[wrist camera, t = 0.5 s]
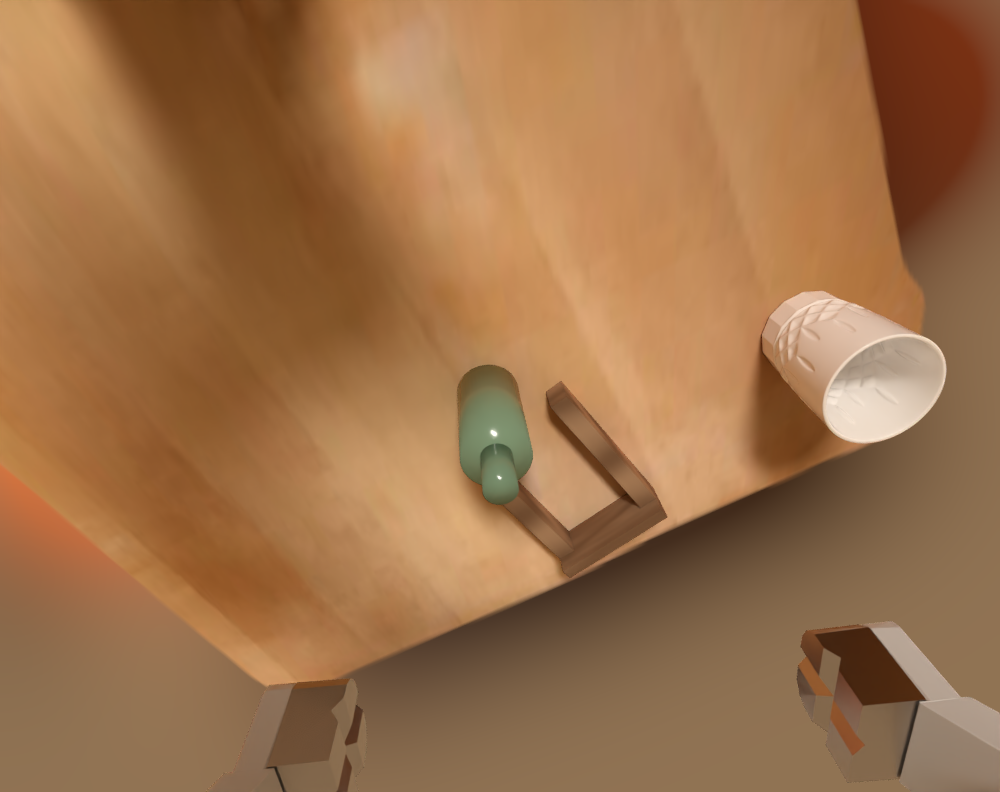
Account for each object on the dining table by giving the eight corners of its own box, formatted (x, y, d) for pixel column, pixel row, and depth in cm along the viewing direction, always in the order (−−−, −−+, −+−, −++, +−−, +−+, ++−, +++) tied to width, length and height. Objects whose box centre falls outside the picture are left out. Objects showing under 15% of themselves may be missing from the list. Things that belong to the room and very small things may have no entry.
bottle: (444, 389, 47) (444, 488, 36) (492, 353, 46) (507, 443, 35) (483, 429, 49) (494, 533, 38) (530, 394, 48) (555, 492, 37)
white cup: (841, 263, 45) (937, 311, 36) (862, 347, 48) (954, 410, 40) (740, 313, 46) (810, 372, 37) (768, 392, 50) (837, 462, 41)
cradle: (463, 451, 50) (465, 480, 47) (561, 381, 48) (570, 406, 44) (562, 546, 56) (569, 578, 52) (653, 487, 53) (667, 517, 50)
